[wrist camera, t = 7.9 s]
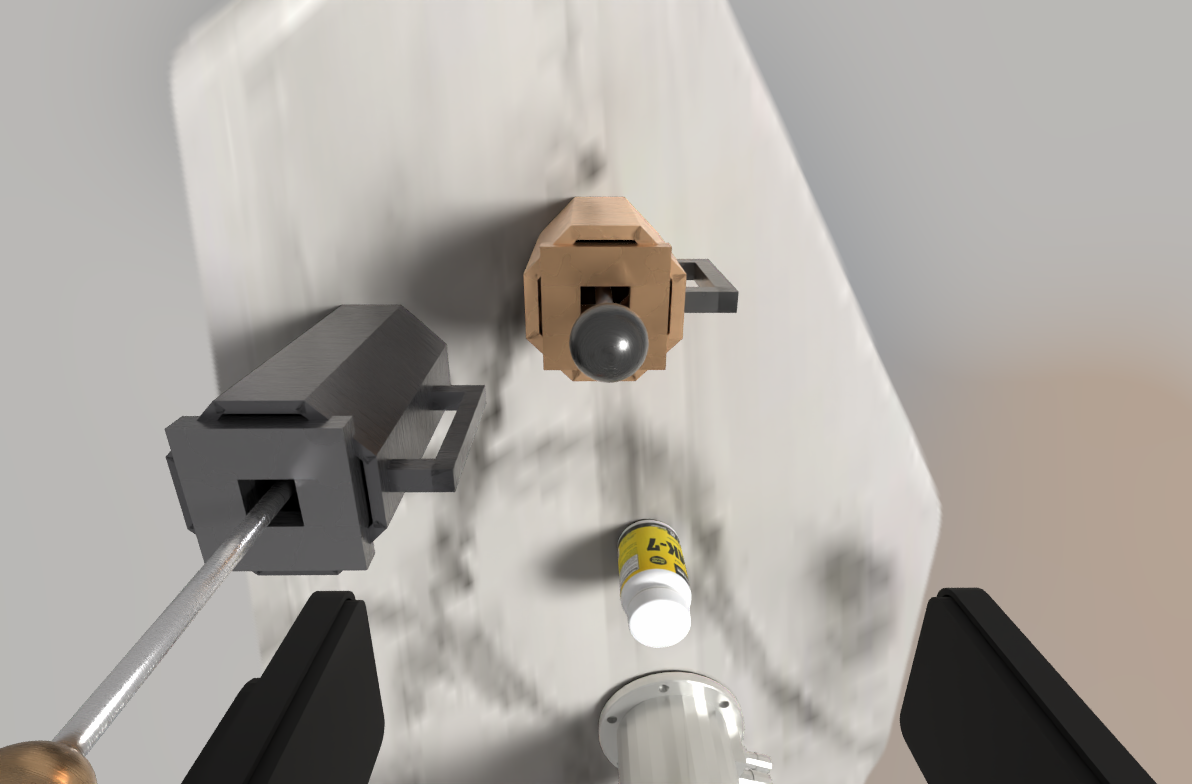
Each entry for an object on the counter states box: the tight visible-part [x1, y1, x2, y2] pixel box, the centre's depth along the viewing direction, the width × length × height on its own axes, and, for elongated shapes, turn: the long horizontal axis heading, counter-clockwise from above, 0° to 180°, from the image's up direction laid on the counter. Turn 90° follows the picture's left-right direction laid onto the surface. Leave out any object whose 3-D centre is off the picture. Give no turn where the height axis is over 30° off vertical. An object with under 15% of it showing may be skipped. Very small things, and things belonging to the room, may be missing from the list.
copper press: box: [524, 197, 738, 381], centre depth 33 cm, size 10×7×12 cm
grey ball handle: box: [569, 286, 649, 383], centre depth 30 cm, size 3×3×17 cm
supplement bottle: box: [617, 520, 691, 648], centre depth 43 cm, size 5×5×8 cm
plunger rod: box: [0, 479, 296, 784], centre depth 23 cm, size 3×3×21 cm
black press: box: [165, 305, 486, 575], centre depth 34 cm, size 12×9×16 cm
